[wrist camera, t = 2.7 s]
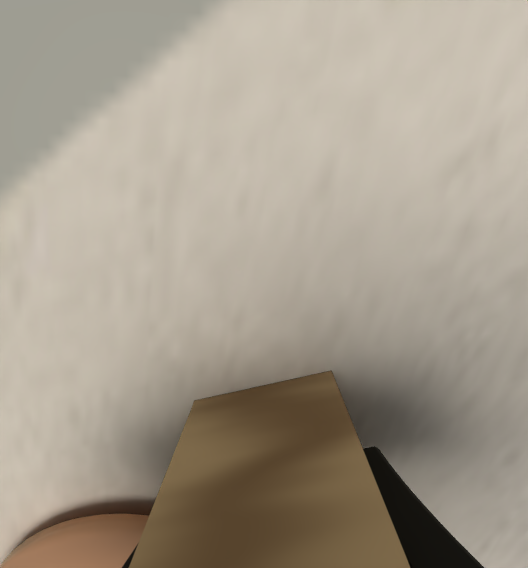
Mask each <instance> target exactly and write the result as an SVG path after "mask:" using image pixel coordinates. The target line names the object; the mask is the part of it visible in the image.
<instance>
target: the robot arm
mask: <svg viewBox="0 0 528 568" xmlns="http://www.w3.org/2000/svg"><path fill="white" fill-rule="evenodd" d="M363 451H364V453H365V456H366V458H367V461H368V463H369V466H370V468H371V471H372V473H373V476H374V478H375V481H376V483H377V486H378V488H379V491H380V493H381V496H382V498H383V501H384V503H385V506H386V508H387V511H388V513H389V516H390V518H391V521H392V523H393V526H394V528H395V530H396V533H397V535H398V538H399V540H400V543H401V545H402V548H403V550H404V553H405V555H406V558H407V560H408V563H409V565H410V568H484V567H483V566H482V565H481V564H480V563H479V562H478V561H477V560H476V559H475V558H474V557H473V556H472V555H471V554H470V553H469V552H468V551H467V550H466V549H465V548H464V547H463V546H462V545H461V544H460V543H459V542H458V541H457V540H456V539H455V538H454V537H453V536H452V535H451V534H450V533H449V532H448V530H447V529H446V528H445V527H444V526H443V525H442V524H441V523H440V522H439V521H438V520H437V519H436V518H435V517H434V515H433V514H432V513H431V512H430V511H429V510H428V509H427V508H426V507H425V506H424V504H423V503H422V502H421V501H420V500H419V499H418V498H417V497H416V495H415V494H414V493H413V492H412V491H411V490H410V489H409V487H408V486H407V485H406V484H405V483H404V481H403V480H402V479H401V478H400V476H399V475H398V474H397V473H396V471H395V470H394V469H393V468H392V466H391V465H390V464H389V462H388V461H387V460H386V458H385V457H384V456H383V454H382V453H381V451H380V450H379V449H378V448H376V447H375V446H374V447H369V448H364V449H363ZM137 546H138V544H137ZM137 546H136V547H135V549H134V550H133V552H132V553H131V555H130V556H129V557H128V559H127V560H126V562H125V563H124V565H123V566H122V568H129V566H130V563H131V561H132V558H133V556H134V553H135V551H136V548H137Z"/></svg>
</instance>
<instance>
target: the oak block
mask: <svg viewBox="0 0 528 568" xmlns="http://www.w3.org/2000/svg"><path fill="white" fill-rule="evenodd" d="M129 568H410V565H409V563H408V560H407V558H406V555H405V553H404V550H403V548H402V545H401V543H400V540H399V538H398V535H397V533H396V530H395V528H394V526H393V523H392V521H391V518H390V516H389V513H388V511H387V508H386V506H385V503H384V501H383V498H382V496H381V493H380V491H379V488H378V486H377V483H376V481H375V478H374V476H373V473H372V471H371V468H370V466H369V463H368V461H367V458H366V456H365V453H364V451H363V448H362V446H361V443H360V441H359V438H358V436H357V433H356V431H355V428H354V426H353V423H352V421H351V418H350V416H349V413H348V411H347V408H346V406H345V403H344V401H343V398H342V396H341V393H340V391H339V388H338V386H337V383H336V381H335V378H334V376H333V373H332V371H327V372H323V373H318V374H314V375H309V376H305V377H300V378H295V379H291V380H286V381H282V382H277V383H273V384H268V385H264V386H259V387H254V388H250V389H245V390H241V391H236V392H232V393H227V394H222V395H218V396H213V397H209V398H204V399H200V400H195V401H194V403H193V406H192V408H191V411H190V414H189V416H188V419H187V421H186V424H185V426H184V429H183V431H182V434H181V436H180V439H179V442H178V444H177V447H176V449H175V452H174V454H173V457H172V459H171V462H170V464H169V467H168V469H167V472H166V475H165V477H164V480H163V482H162V485H161V487H160V490H159V492H158V495H157V497H156V500H155V502H154V505H153V508H152V510H151V513H150V515H149V518H148V520H147V523H146V525H145V528H144V530H143V533H142V536H141V538H140V541H139V543H138V546H137V548H136V551H135V553H134V556H133V558H132V561H131V563H130V566H129Z"/></svg>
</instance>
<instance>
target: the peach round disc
mask: <svg viewBox="0 0 528 568" xmlns="http://www.w3.org/2000/svg"><path fill="white" fill-rule="evenodd" d="M148 518H149V515H137V514H101V515H94V516H87V517H81V518H77V519H73V520H69V521H65V522H61V523H59V524H56V525H54V526H51V527H49V528H46V529H44V530H42V531H40V532H38V533H37V534H35V535H33V536H31V537H29V538H28V539H27V540H25V541H24V542H23V543H21V544H20V545H19V546H18V547H16V548H15V549H14V550H13V551H12V552H11V553H10V554H9V556H8V557H7V558H6V559H5V560H4V561H3V563H2V564H1V565H0V568H122V566H123V565H124V563H125V562H126V560H127V559H128V557H129V556H130V555H131V553H132V552H133V550H134V549H135V547H136V546H137V544H138V543H139V541H140V538H141V536H142V533H143V530H144V528H145V525H146V523H147V520H148Z"/></svg>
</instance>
